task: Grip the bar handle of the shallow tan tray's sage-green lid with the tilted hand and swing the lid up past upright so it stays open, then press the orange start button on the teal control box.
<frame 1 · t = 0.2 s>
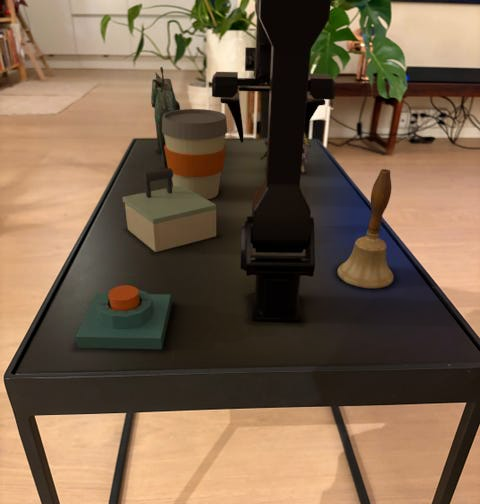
hand: (269, 142, 85), 15 cm above the table, tool pointing down, fingers open, 9 cm apart
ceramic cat: (169, 160, 125), on the table
start button: (124, 298, 63), point 4 cm above the table, slide at 0.1 cm
hand bell: (364, 276, 78), on the table
shallow tan tray: (171, 232, 89), on the table
passion flower: (283, 171, 119), on the table
control box: (127, 325, 65), on the table
lid: (168, 190, 85), point 7 cm above the table, hinge at 0.0°
reusable coffee cup: (196, 193, 106), on the table
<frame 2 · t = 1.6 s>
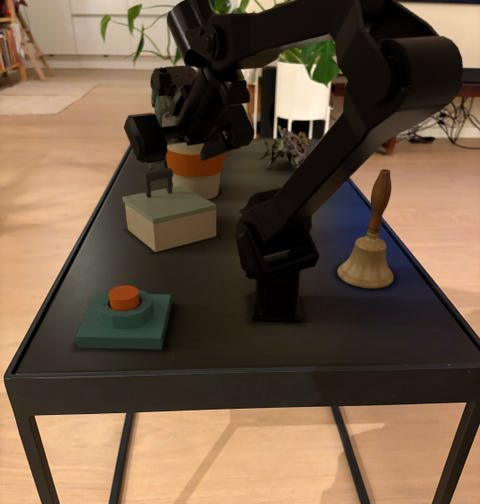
hand: (175, 162, 81), 12 cm above the table, tool tilted 45°, fingers open, 9 cm apart
nothing on the table moved.
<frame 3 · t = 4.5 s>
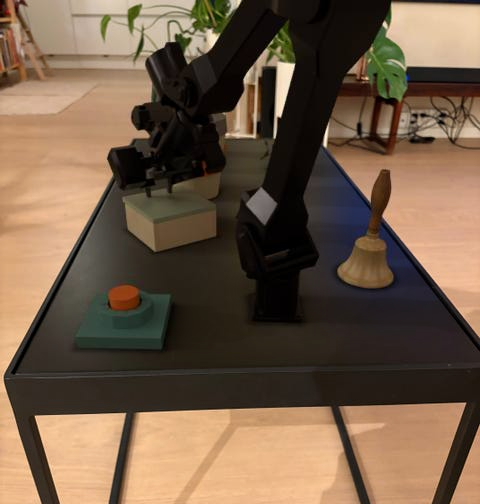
hand: (155, 186, 89), 7 cm above the table, tool tilted 45°, fingers closed on lid, 5 cm apart
lid: (168, 190, 85), point 7 cm above the table, hinge at 0.0°, touching gripper
everything else where it was.
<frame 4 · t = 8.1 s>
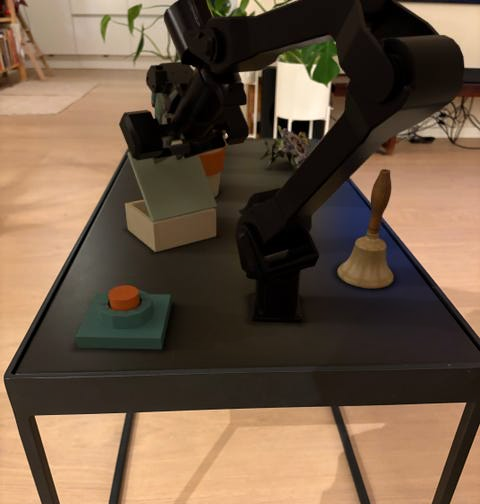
hand: (170, 158, 81), 13 cm above the table, tool tilted 45°, fingers closed on lid, 5 cm apart
lid: (178, 175, 81), point 11 cm above the table, hinge at 51.2°, touching gripper
everything else where it was.
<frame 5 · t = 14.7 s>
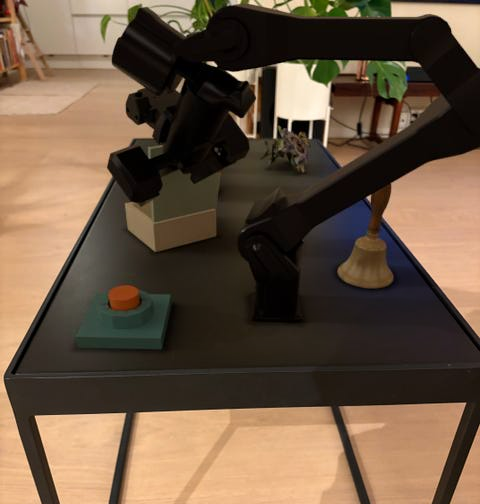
hand: (167, 192, 72), 12 cm above the table, tool tilted 40°, fingers open, 9 cm apart
lid: (192, 184, 78), point 11 cm above the table, hinge at 93.1°, touching gripper
everything else where it was.
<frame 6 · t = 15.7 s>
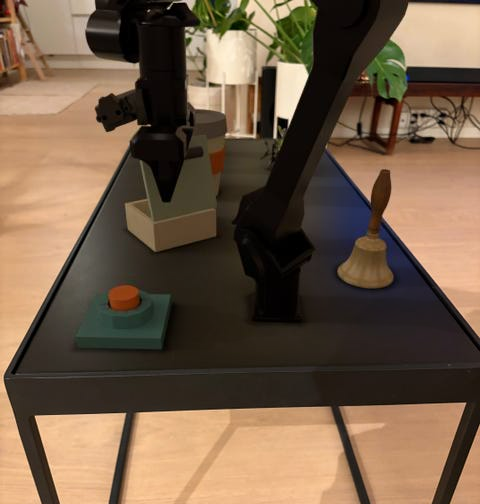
hand: (169, 192, 71), 12 cm above the table, tool pointing down, fingers open, 7 cm apart
lid: (185, 177, 79), point 11 cm above the table, hinge at 73.5°
everything else where it was.
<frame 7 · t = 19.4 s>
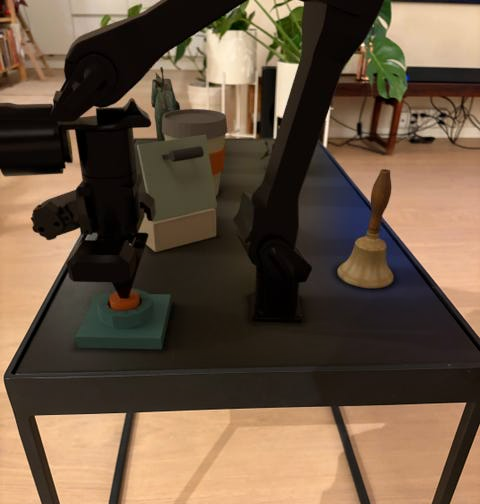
hand: (124, 296, 63), 4 cm above the table, tool pointing down, fingers closed, pressing on start button
start button: (125, 303, 64), point 3 cm above the table, slide at -0.6 cm, touching gripper
everything else where it was.
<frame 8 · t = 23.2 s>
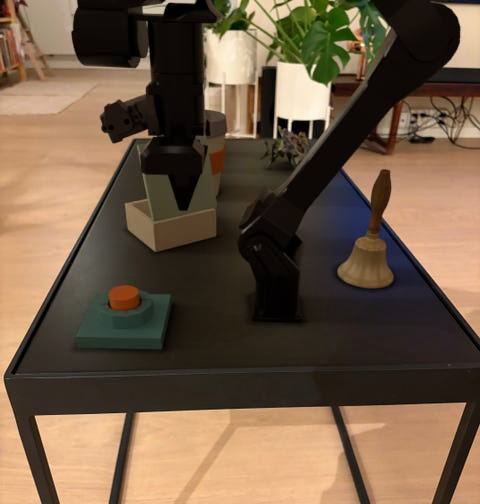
hand: (183, 209, 64), 13 cm above the table, tool pointing down, fingers closed
start button: (124, 298, 63), point 4 cm above the table, slide at 0.1 cm
everything else where it was.
at the end: lid at +74° (first picture: +0°); start button pushed in 1.1 cm at the most during the clip, back to where it started at the end; start button slide at 0.1 cm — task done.
